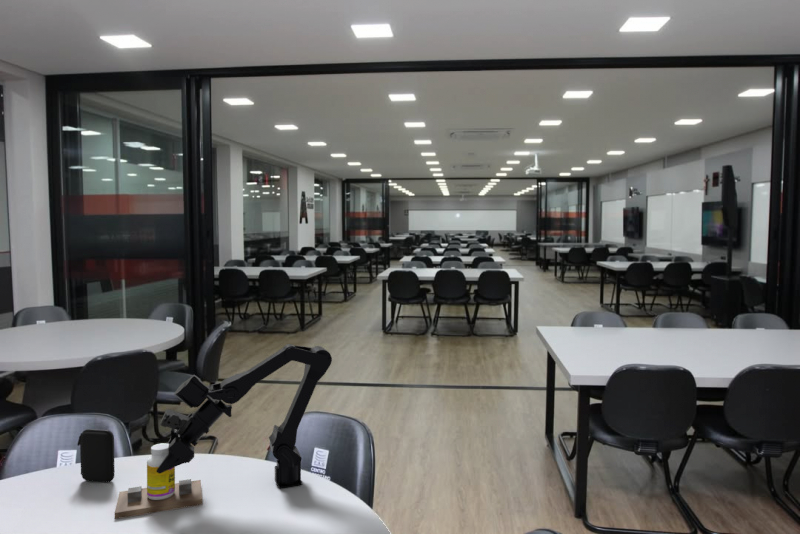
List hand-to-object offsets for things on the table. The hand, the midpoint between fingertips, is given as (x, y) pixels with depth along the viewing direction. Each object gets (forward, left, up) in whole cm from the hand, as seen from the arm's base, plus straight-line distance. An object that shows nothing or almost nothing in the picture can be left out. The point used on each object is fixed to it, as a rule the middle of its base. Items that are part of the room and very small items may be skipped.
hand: (159, 465), depth 140 cm
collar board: (0, 0, -9) cm, 9 cm away
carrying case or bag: (+17, -19, -10) cm, 27 cm away
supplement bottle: (0, 0, -8) cm, 8 cm away
